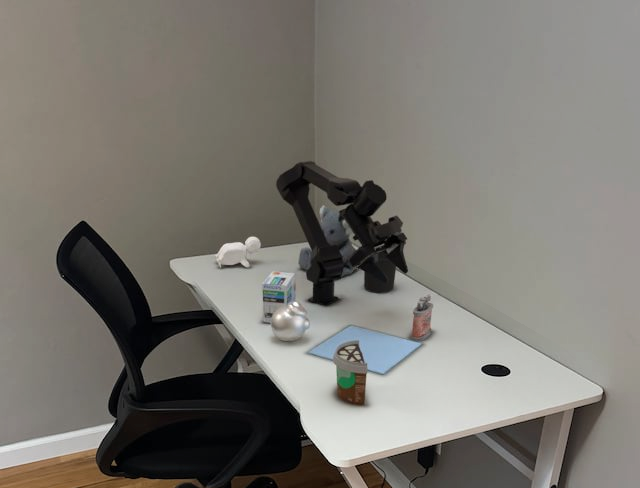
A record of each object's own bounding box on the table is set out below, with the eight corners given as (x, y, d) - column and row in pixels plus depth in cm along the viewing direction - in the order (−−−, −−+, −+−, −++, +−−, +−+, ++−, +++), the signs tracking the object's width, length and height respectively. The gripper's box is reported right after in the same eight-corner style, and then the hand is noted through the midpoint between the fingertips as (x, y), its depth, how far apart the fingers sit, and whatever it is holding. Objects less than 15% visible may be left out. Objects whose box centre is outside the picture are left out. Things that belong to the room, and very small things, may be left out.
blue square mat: (350, 326, 180) (350, 325, 180) (421, 344, 171) (421, 343, 171) (308, 353, 165) (308, 352, 165) (382, 374, 156) (382, 373, 156)
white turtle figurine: (224, 278, 222) (267, 258, 222) (213, 254, 218) (257, 235, 218) (221, 270, 229) (263, 251, 230) (211, 247, 225) (253, 228, 225)
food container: (328, 381, 153) (330, 339, 148) (356, 380, 153) (358, 339, 148) (335, 409, 142) (336, 365, 137) (365, 408, 142) (367, 364, 138)
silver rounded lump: (301, 349, 167) (301, 310, 163) (265, 343, 170) (264, 305, 165) (314, 335, 175) (314, 298, 170) (279, 330, 178) (279, 293, 173)
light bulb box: (287, 325, 181) (287, 285, 176) (262, 323, 182) (261, 283, 177) (296, 310, 190) (296, 272, 185) (272, 308, 191) (272, 270, 186)
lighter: (420, 342, 172) (423, 304, 167) (407, 339, 173) (410, 301, 169) (433, 331, 178) (437, 294, 173) (421, 328, 180) (424, 291, 175)
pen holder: (401, 288, 207) (403, 255, 202) (381, 296, 201) (383, 262, 196) (376, 280, 212) (378, 248, 208) (356, 288, 206) (357, 255, 202)
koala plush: (294, 268, 222) (294, 206, 213) (336, 258, 232) (338, 198, 223) (330, 282, 210) (332, 218, 201) (373, 271, 221) (376, 209, 212)
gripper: (361, 213, 162) (398, 269, 162) (403, 199, 176) (437, 251, 175) (333, 240, 170) (368, 293, 169) (375, 225, 183) (408, 274, 183)
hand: (397, 277), depth 174 cm, fingers open, 9 cm apart
